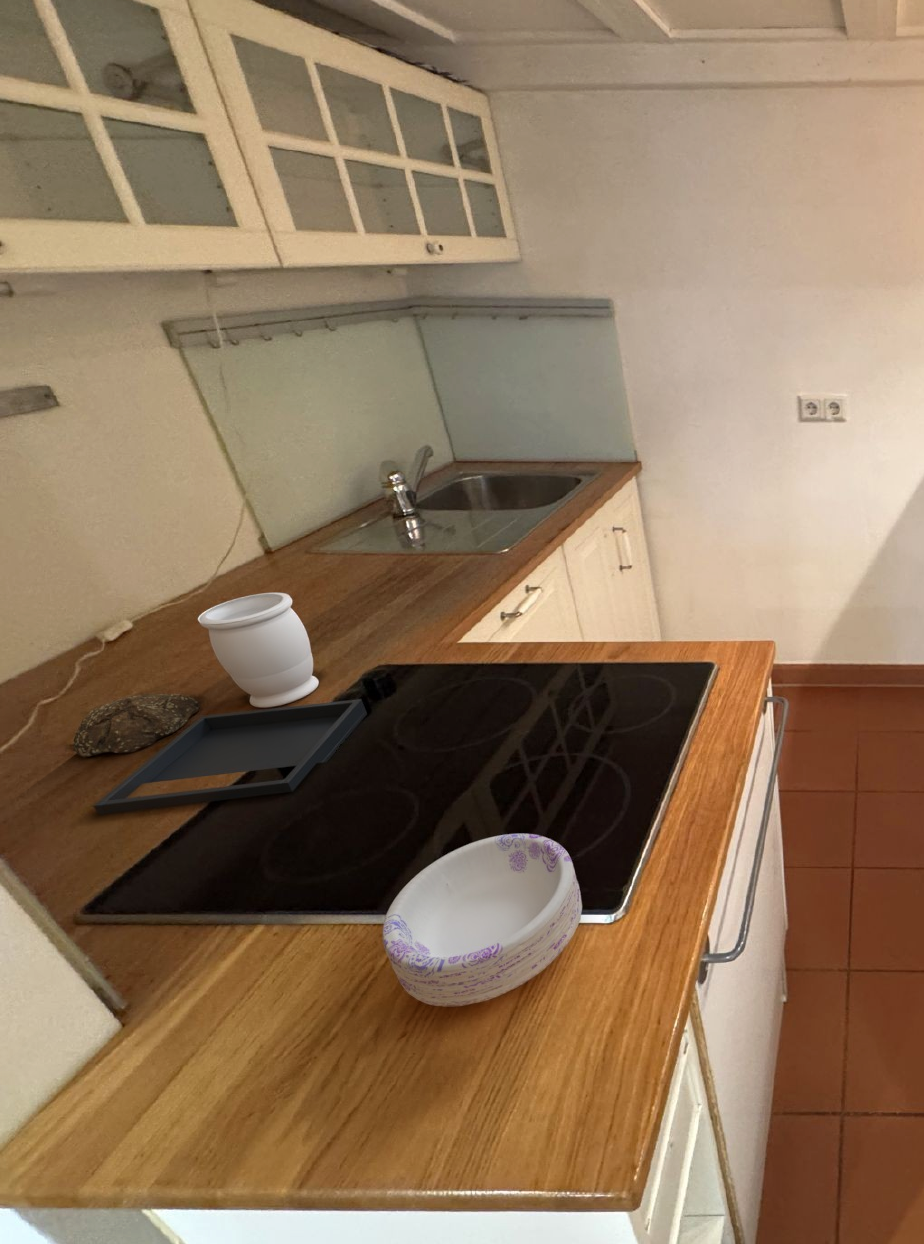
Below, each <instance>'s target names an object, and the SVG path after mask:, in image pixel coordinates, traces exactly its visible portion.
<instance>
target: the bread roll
mask: <svg viewBox="0 0 924 1244" xmlns="http://www.w3.org/2000/svg"><path fill="white" fill-rule="evenodd" d="M199 706H200V703H199V701H198V700H196V699H194V698H193V697H191V696H189V695H186V694H181V693H160V694H148V693H147V694H146V693H145V694H141V695H139V694H138V695H131V696H127V697H125V698H121V699H117V700H113V701H111V702H108V703H105V704H104V705H101V706H100V707H96V708H95V709H92V710H91V711H90V712H89V713H88V714H87V715H86V716H85V718H84V719H82V720H81V722H80V724H79V725H78V727H77V731H76V733H75V735H74V738H73V745H72V746H73V751H74V752H75V753H76V754H77V755H78V756H79V757H81V758H89V757H93V756H97V755H101V754H104V753H115V754H120V755H121V754H130V753H135V752H137V751H139V750H142V749H145V748H148V747H149V746H151V745H153V744H154V743H155V742H156V741H157V740H161V739H163V738H165V737H167V736H169V735H172V734H174V733H175V732H177V731H178V730H180V728H182V727H183V726H185V725H186V723H187V722H188V720H189V719H190V718H191V717H192V716H193V715H195V714H196V713H198V712H199V710H200V708H199Z"/></svg>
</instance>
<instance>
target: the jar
mask: <svg viewBox="0 0 924 1244" xmlns="http://www.w3.org/2000/svg"><path fill="white" fill-rule="evenodd" d="M292 605H293V598H292V597H291V596H290V595H289V594H288V593H285V592H263V593H257V594H251V595H246V596H242V597H238V598H234V599H231V600H227V601H225V602H222V603H219V604H217V605H214V606H212V607H210V608H208V609H206V610H205V611H203V612H202V613H201V614H199V616H198V617H197V621H198V622H199V624H200V625H201V627H203V628H205V629H207V630H208V636H209V641H210V644H211V648H212V650H213V652H214V655H215V657H216V659H217V660H218V662H219V663H220V665H221V667H222V668H223V669H224V670H225V671H226V672H227V674H228V675H229V676H230V678H231V679H232V680H233V682H234V683H235V684H236V685H237V686H238V687H239V688H240V689H241V690H242V691H243V692H245V693H247V694H248V695H250V697H249V703H250V705H251V706H253V707H255V708H259V709H260V708H261V709H269V708H276V707H280V706H284V705H288V704H291V703H293V702H296V701H299V700H300V699H303V698H305V697H307V696H308V695H310V694H312V693H313V692H314V691H315V690H316V689H317V688H318V686H319V684H320V681H319V679H318V678H317V677H316V676H314V675H313V672H314V658H313V652H312V649H311V642H310V639H309V635H308V632H307V630H306V627H305V626H304V624H303V622H302V620H301V619H300V617H299V615H298V614H297V613H296V612H295V610H294V609H293V608H292Z"/></svg>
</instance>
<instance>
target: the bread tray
mask: <svg viewBox="0 0 924 1244" xmlns="http://www.w3.org/2000/svg"><path fill="white" fill-rule="evenodd" d="M367 715H368V712H367V710H366V707H365V704H364V702H363V700H362V698H357V699H350V700H340V701H339V700H338V701H329V702H321V703H320V702H319V703H312V704H301V705H291V706H282V707H271V708H262V709H255V710H253V709H252V710H245V711H237V712H226V713H217V714H216V713H215V714H208V715H201V716H200V717H198V718H197V719H196V720H195V721H194V722H193V723H191V724H190V725H189V726H188V727H187V728H186V729H184V730H183V731H182V732H180V733H179V734H178V735H177V736H175V737H174V738H173V739H172V740H171V741H170V742H168V743H167V744H166V745H165V746H163V747H162V748H161V749H160V750H159V751H158V752H156V753H155V754H154V755H153V756H152V757H150V758H149V759H148V760H146V761H145V762H144V763H143V764H141V765H140V767H138V768H136V770H134V771H133V772H132V773H131V774H130V775H129V776H127V777H126V778H125V779H124V780H122V782H120V783H119V784H118V785H117V786H115V787H114V788H113V789H111V791H109V792H108V793H107V794H106V795H104V797H102V798H101V799H99V800H98V801H97V802H96V803H95V804H94V805H93V808H94V810H95V811H96V812H97V814H98V816H102V815H103V816H104V815H112V814H113V815H114V814H120V813H129V812H136V811H144V810H152V809H153V810H154V809H161V808H169V807H178V806H185V805H194V804H202V803H210V802H219V801H227V800H236V799H242V798H253V797H258V796H259V797H260V796H268V795H275V794H284V793H292V792H294V790H296V788H297V787H298V785H300V783H301V782H302V781H303V780H304V779H305V778H306V776H307V775H308V774H309V773H310V771H312V769H313V768H314V767H315V766H316V764H323V763H328V761H329V760H330V759H331V758H332V757H333V756H334V755H335V753H336V752H337V751H338V749H339V748H340V747H341V746H340V744H342V745H343V743H344V742H345V741H346V740H347V739H348V737H350V735H351V734H352V733H353V731H354V730H355V729H357V727H358V726H359V724H360V723H361V722H362V721H363V720H364V718H365V717H366V716H367ZM346 738H347V739H346ZM345 739H346V740H345ZM339 746H340V747H339ZM336 750H337V751H336ZM287 767H294V768H293V769H292V770H291V771H290V772H289V773H288V774H287V776H286V777H285V778H284V779H275V780H267V781H260V782H252V783H243V784H235V785H234V784H233V785H226V786H218V787H209V788H202V789H193V790H185V791H184V790H183V791H177V792H176V791H175V792H168V793H159V794H151V795H142V796H135V797H134V796H133V797H129V796H130V795H131V794H132V793H133V792H135V790H137V789H138V788H139V787H140V786H141V785H143V784H151V783H160V782H169V781H176V780H185V779H194V778H195V779H196V778H202V777H203V778H204V777H211V776H220V775H228V774H237V773H245V772H254V771H255V772H256V771H262V770H270V769H279V768H287Z"/></svg>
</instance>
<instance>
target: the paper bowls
mask: <svg viewBox="0 0 924 1244" xmlns="http://www.w3.org/2000/svg"><path fill="white" fill-rule="evenodd" d="M582 911H583V901H582V895H581V890H580V884H579V881H578V879H577V875H576V871H575V867H574V863H573V861H572V858H571V856H570V854H569V853H568V851H567V850H566V848H564V847H563V845H561V844H560V843H559V842H557V841H555V840H553V839H552V838H548V837H546V836H543V835H540V834H535V833H509V834H508V833H506V834H502V835H501V834H500V835H495V836H491V837H486V838H482V839H479V840H476V841H473V842H470V843H468V844H466V845H463V846H461V847H458V848H456V849H454V850H453V851H449V852H448V853H447V854H445V855H443V856H441V857H440V858H438V859H436V860H435V861H433V862H432V863H431V864H429V865H427V866H426V867H425V868H423V869H422V870H420V872H419V873H417V874H416V875H415V876H414V877H413V878H411V879H410V881H409V882H408V883H407V884H406V885H405V886H404V887H403V888H402V889H401V890H400V891H399V893H397V895H396V897H395V898H394V900H393V901H392V903H391V904H390V906H389V908H388V910H387V912H386V914H385V917H384V921H383V925H382V945H383V949H384V951H385V953H386V955H387V958H388V960H389V961H390V965H391V968H392V970H393V971H394V973H395V975H396V978H397V980H398V981H399V984H400V985H401V986H402V988H403V989H404V990H405V991H406V993H408V994H409V995H410V996H411V997H413V998H414V999H415V1000H417V1001H420V1002H421V1003H424V1004H426V1005H431V1006H436V1007H462V1006H468V1005H471V1004H477V1003H481V1002H485V1001H489V1000H493V999H494V998H497V997H501V996H502V995H504V994H507V993H508V992H510V991H513V990H515V989H517V988H519V987H521V986H522V985H524V984H525V983H527V982H528V981H530V980H531V979H533V978H535V977H536V976H538V975H539V974H540V973H541V972H543V971H544V970H545V969H546V968H547V967H548V966H549V965H550V964H552V963H553V962H554V960H555V959H557V957H559V956H560V954H561V953H562V952H563V951H564V949H565V948H566V947H567V946H568V944H569V942H570V941H571V940H572V939H573V937H574V935H575V933H576V930H577V928H578V927H579V924H580V922H581V918H582Z"/></svg>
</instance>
